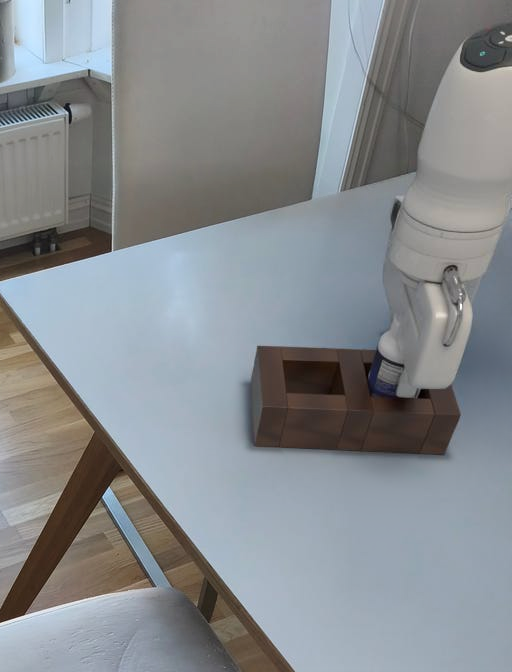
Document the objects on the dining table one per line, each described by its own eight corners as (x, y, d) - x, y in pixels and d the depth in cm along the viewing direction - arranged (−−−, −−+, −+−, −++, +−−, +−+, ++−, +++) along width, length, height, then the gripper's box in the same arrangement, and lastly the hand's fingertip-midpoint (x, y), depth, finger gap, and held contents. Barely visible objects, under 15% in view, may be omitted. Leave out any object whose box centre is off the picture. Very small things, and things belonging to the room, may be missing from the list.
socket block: (426, 391, 97) (441, 351, 94) (444, 454, 91) (461, 414, 87) (249, 384, 99) (257, 345, 95) (254, 446, 92) (262, 406, 89)
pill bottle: (372, 381, 95) (399, 298, 88) (421, 398, 93) (452, 313, 86) (353, 407, 93) (378, 323, 85) (402, 424, 91) (433, 340, 83)
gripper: (505, 304, 73) (448, 438, 83) (458, 190, 85) (414, 320, 96) (426, 301, 73) (380, 435, 84) (391, 189, 86) (355, 318, 97)
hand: (398, 373), depth 90 cm, fingers closed on pill bottle, 5 cm apart
